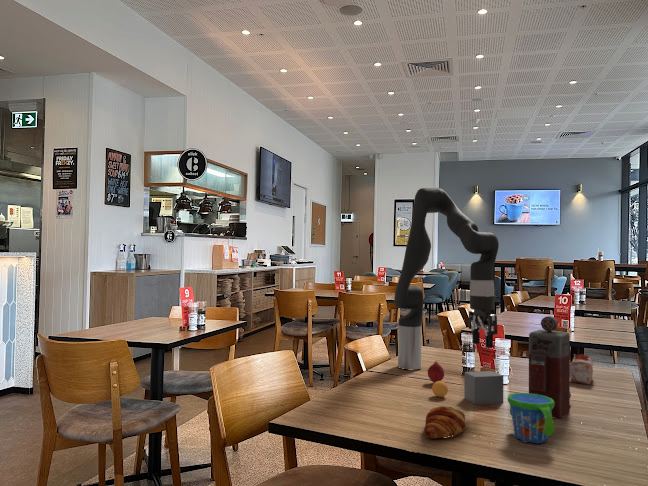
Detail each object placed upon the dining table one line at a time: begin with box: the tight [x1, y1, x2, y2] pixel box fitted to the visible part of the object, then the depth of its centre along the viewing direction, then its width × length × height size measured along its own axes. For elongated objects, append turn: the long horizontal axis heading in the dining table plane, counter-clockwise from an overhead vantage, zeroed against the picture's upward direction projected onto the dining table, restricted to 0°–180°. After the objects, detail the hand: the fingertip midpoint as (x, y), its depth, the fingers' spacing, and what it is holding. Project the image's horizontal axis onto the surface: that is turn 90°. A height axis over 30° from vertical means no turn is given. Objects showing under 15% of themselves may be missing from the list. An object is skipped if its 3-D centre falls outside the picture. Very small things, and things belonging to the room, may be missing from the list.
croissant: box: [423, 405, 467, 439], centre depth 130 cm, size 21×10×8 cm, turn 144°
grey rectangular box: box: [463, 370, 504, 405], centre depth 158 cm, size 6×10×8 cm, turn 102°
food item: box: [570, 353, 594, 385], centre depth 186 cm, size 14×8×10 cm, turn 151°
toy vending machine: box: [528, 315, 571, 420], centre depth 146 cm, size 9×11×28 cm
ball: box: [431, 380, 449, 398], centre depth 162 cm, size 5×5×5 cm
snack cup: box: [507, 392, 555, 444], centre depth 125 cm, size 16×10×10 cm
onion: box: [427, 360, 445, 384], centre depth 179 cm, size 6×6×8 cm
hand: (482, 345), depth 159 cm, fingers open, 8 cm apart
